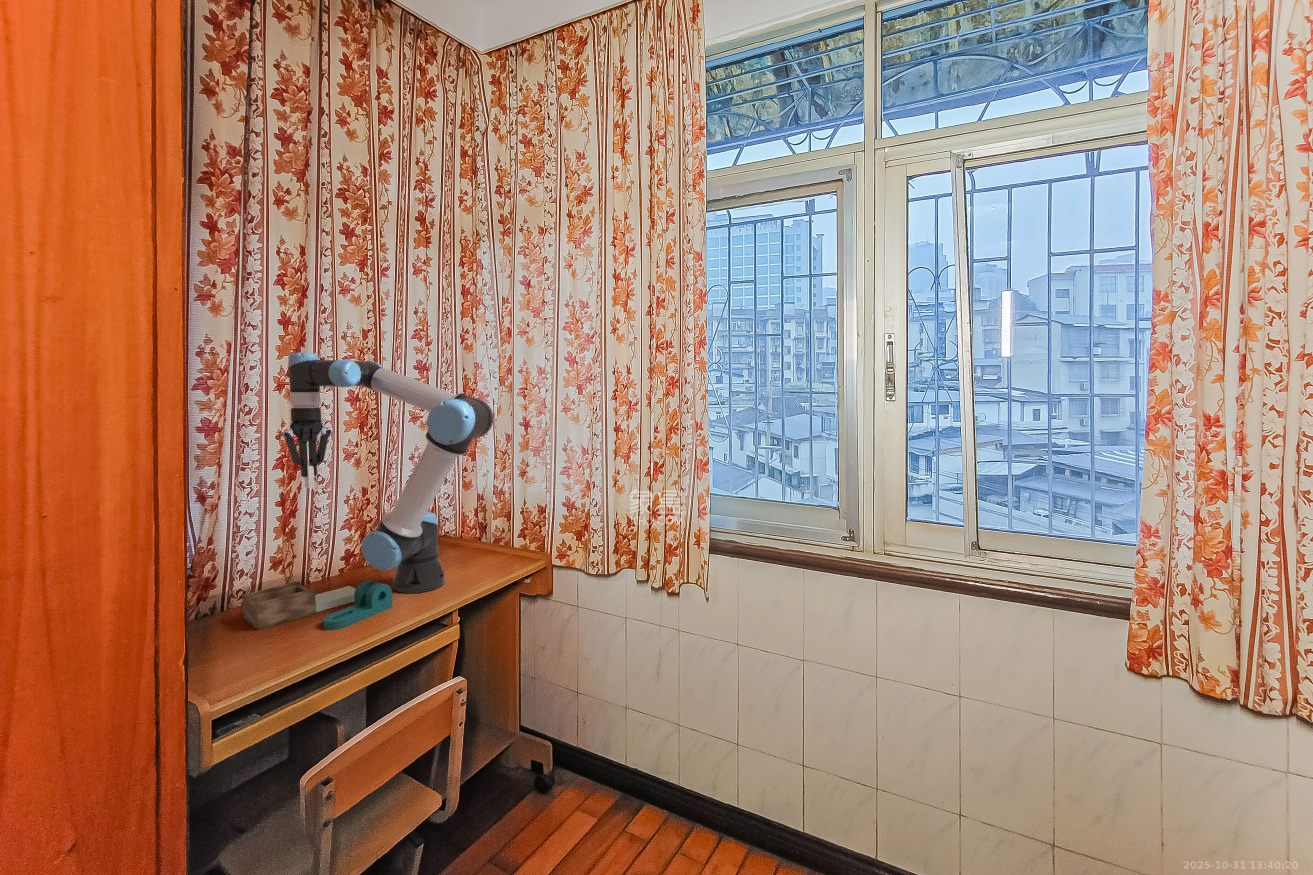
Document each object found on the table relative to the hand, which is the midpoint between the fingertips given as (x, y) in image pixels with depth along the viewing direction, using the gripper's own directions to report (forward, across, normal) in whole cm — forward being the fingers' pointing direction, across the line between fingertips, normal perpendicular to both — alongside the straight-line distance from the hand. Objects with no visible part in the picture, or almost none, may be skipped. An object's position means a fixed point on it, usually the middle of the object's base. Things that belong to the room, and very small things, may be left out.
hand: (309, 487), depth 175 cm
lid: (+33, -1, +10) cm, 34 cm away
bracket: (+33, 0, +26) cm, 42 cm away
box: (+32, +13, +10) cm, 36 cm away
